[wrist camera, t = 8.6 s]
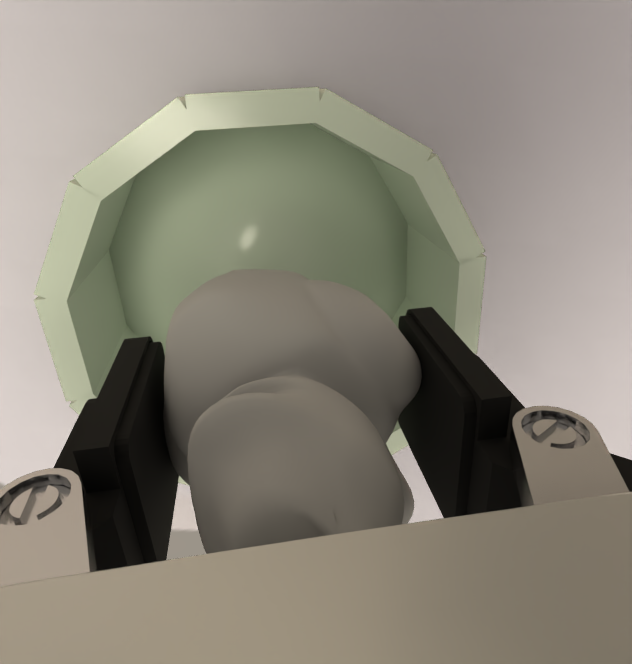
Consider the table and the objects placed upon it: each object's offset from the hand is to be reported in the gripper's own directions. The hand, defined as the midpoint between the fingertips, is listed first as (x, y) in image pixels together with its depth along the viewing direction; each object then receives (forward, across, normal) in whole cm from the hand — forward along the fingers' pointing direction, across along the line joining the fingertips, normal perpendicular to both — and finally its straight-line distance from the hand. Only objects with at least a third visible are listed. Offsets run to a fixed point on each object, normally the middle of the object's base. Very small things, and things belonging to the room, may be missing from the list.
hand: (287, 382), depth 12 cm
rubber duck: (+1, 0, 0) cm, 1 cm away
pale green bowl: (+9, 0, 0) cm, 9 cm away
